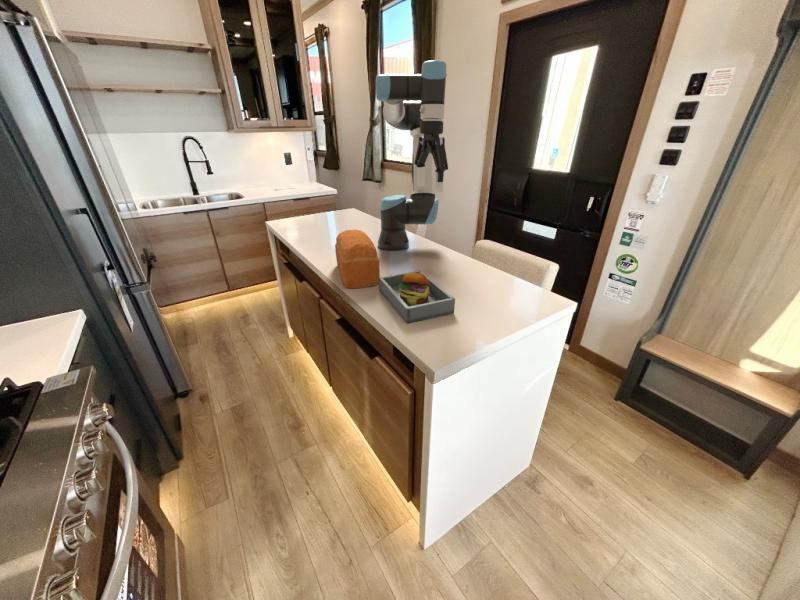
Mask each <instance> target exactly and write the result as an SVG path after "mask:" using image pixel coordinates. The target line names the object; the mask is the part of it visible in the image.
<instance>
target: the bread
mask: <svg viewBox="0 0 800 600" xmlns="http://www.w3.org/2000/svg"><path fill="white" fill-rule="evenodd" d="M335 238H336V239H335V244H334V249H335V257H336V258H335V259H336V265H337V267H338V271H339V274H340V276H341V277H340V278H341V281H342V283H343V286H344V287H346V288H348V289H361V288H368V287H373V286H377V285H379V277H381V276H380V275H381V274H380V273H381V272H380V271H381V270H380V259H379V256H378V251H377V248H376V246H375V245H374V243H373V241H372V239H371V238H370V237H369V235H368V234H367V233H365V231H362V230H361V229H345V230H344V231H341V232H339V234H338V235H337V236H336V237H335Z"/></svg>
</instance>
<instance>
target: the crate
mask: <svg viewBox="0 0 800 600" xmlns="http://www.w3.org/2000/svg"><path fill="white" fill-rule="evenodd" d="M407 273H420V274H424V275H425V276H426V277H427V279H428V281H429V284H428V285H427V286H428V287H429V292H430V294H429V295H428V296H429V297H428V300H426V301H424V302H422V303H419V304H416V305H414V306H411V305H409V304H407V303H406V302H404V301H403V300H402V299H401V298H400V289H399V286H400V285H399V284H401V283H403V282H402V279H403V277H404V276H405V275H406V274H407ZM378 290H379V292H380V293H381V294H382V296H383V297H384V298H385V300H387V302H388V303H389V304H390V306H392V308H393V309H394V310H395V311H396V313H397V314H398V315H399V316H400V318H401V319H402V320H403V322H404V323H405V324H406V325H408V324H412V323H417V322H420V321H425V320H429V319H434V318H438V317H443V316H447V315H451V314H455V305H456V298H455V297H453V296H452V295H451V294H450V293H449V292H447V291H446V290H445V289H444V288H443V287H442V286H440V285H439V284H438V283H436V282H435V281H434V280H432V279H431V278H430V277H429V276H428V275H427V274H426V273H424V272H423V271H422V270H416V271H409V272H403V273H397V274H391V275H385V276H380V277H379V283H378Z"/></svg>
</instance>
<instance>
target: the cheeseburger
mask: <svg viewBox="0 0 800 600" xmlns="http://www.w3.org/2000/svg"><path fill="white" fill-rule="evenodd" d="M406 273H407V274H406V275H405V276H404V277H403V279H402V282H403V283H401V284H399V285H400V286H399V289H400V298H401V299H402V300H403V301H404V302H406V303H407V304H409V305H411V306H414V305H416V304H419V303H422V302H424V301H426V300H428V297H429V296H428V295H429V294H430V292H429V287H428V286H427V285H428V284H429V281H428V279H427V277H426V276H425V275H426V274H425V273H424V274H425V275H424V274H420V273H408V272H406Z"/></svg>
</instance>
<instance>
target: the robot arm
mask: <svg viewBox="0 0 800 600" xmlns="http://www.w3.org/2000/svg"><path fill="white" fill-rule="evenodd" d="M447 76H448V73H447V63H446V62H445V61H444V60H440V59H438V60H436V59H433V60H432V59H431V60H426V61H424V62H422V65H421V72H420V73H417V74H413V73H409V74H408V73H407V74H406V73H405V74H404V73H400V74H399V73H384V74H383V73H381V74H377V75H376V77H375V96H376V100H377V101H379V102H383V107H382V115H383V118H384V120H385V122H386V123H387V124H388V125H389V126H391V127H392V128H394V129H398V130H401V131H409V132H410V136H411V137H412V138H413V190H412V192H411V193H410V194H409V195H410V197H409V198H407V197H406V195H405V194H395V195H390V196H389V195H388V196H386V197H383V198H381V201H380V208H379V211H380V227H381V228H380V234H379V236H378V240H377V247H378V248H379V249H382V250H385V251H386V250H387V251H401V250H406V249H407V248H409V246H410V240H409V237H408V234H407V231H406V225H424V226H426V225H433V224H434V223H436V221H437V216H438V210H439V203H440V202H439V199H438V198H436V193H443V188H444V177H445V176H444V175H445V173H444V172H445V171H447V170H448V169H449V164H448V159H447V158H448V157H447V152H446V147H445V141H446V139H445V137H440V135H443V132H444V121H443V120H444V118H445V97H446V81H447ZM433 163H434V166H435V170H434V188H433ZM433 189H434V192H433Z"/></svg>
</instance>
